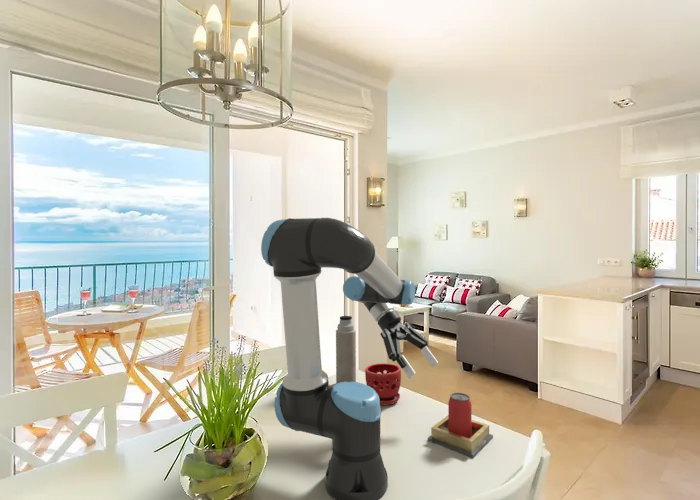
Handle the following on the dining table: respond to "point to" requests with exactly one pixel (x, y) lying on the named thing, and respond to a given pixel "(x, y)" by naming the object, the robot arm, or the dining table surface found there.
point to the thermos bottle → (345, 351)
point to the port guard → (461, 438)
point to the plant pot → (384, 381)
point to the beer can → (460, 415)
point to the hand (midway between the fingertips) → (424, 370)
